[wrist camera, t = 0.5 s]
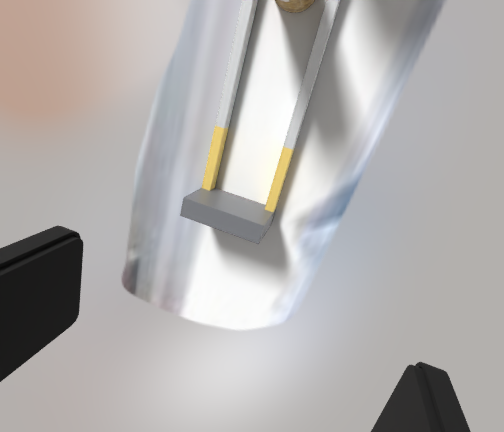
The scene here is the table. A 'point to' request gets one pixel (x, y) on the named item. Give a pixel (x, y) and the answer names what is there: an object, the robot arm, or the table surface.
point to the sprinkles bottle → (294, 5)
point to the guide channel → (208, 197)
